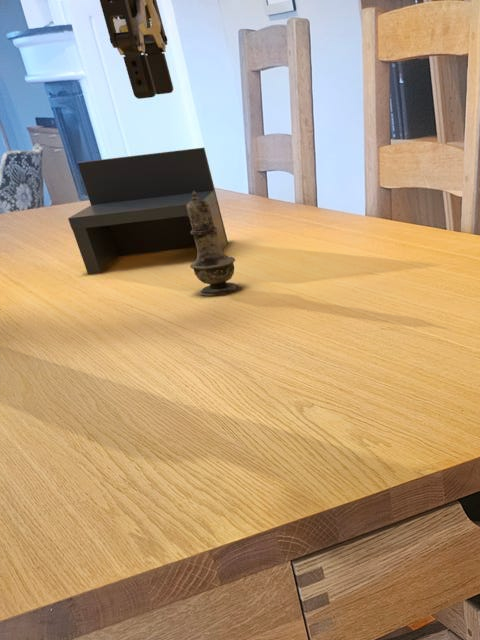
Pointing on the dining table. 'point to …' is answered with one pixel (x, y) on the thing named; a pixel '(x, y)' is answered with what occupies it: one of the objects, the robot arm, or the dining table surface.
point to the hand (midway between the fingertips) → (155, 95)
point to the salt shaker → (209, 251)
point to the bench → (142, 205)
